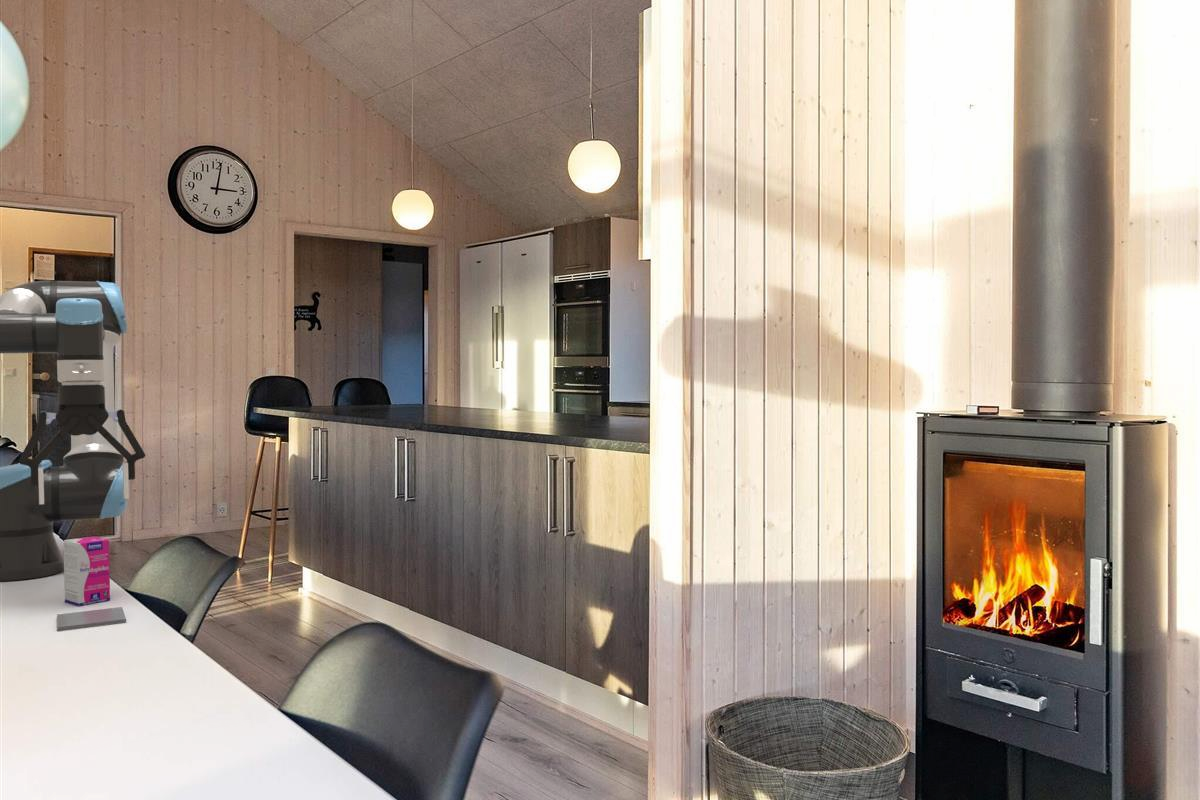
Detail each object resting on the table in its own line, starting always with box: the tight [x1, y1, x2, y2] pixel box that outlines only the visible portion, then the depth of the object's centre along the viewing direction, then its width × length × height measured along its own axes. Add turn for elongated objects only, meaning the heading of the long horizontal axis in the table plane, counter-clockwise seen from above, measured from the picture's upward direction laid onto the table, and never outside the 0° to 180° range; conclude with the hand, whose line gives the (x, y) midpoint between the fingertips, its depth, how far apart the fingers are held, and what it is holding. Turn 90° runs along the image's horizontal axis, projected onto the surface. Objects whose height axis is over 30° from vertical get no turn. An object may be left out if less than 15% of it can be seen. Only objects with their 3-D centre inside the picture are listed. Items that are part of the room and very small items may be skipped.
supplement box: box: [63, 535, 111, 607], centre depth 179 cm, size 6×6×12 cm
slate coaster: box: [56, 606, 127, 632], centre depth 165 cm, size 10×10×1 cm
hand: (84, 500), depth 178 cm, fingers open, 13 cm apart
